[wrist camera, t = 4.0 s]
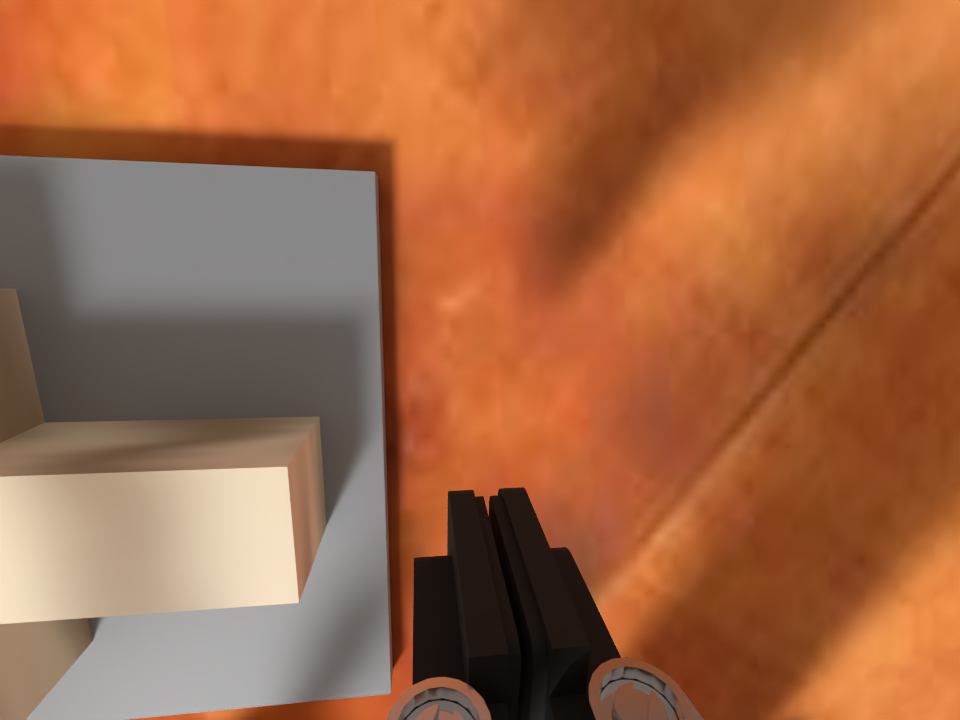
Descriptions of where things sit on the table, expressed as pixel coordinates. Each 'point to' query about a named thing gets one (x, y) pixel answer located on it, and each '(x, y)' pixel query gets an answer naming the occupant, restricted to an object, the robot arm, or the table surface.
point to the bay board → (216, 396)
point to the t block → (138, 520)
